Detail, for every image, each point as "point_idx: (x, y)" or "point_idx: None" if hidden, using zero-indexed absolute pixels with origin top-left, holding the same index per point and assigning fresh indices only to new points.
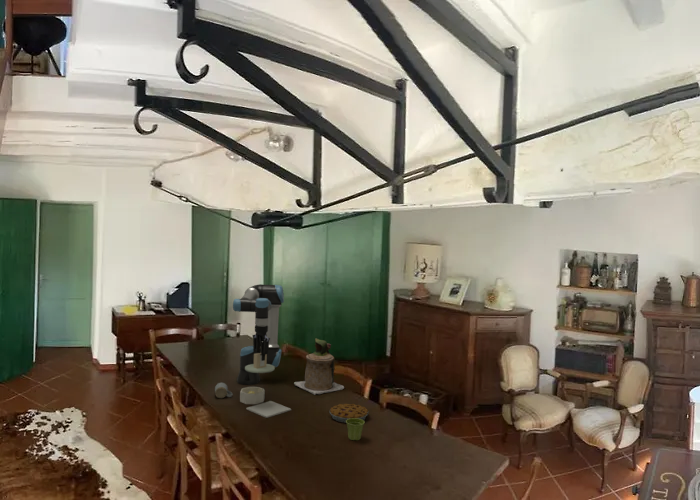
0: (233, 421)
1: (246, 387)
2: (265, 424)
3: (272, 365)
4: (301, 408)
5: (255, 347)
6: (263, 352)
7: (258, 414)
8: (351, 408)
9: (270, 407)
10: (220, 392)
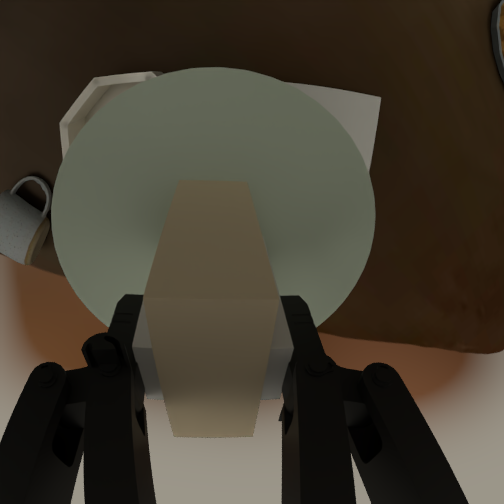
0: None
1: (62, 143)
2: (383, 263)
3: (256, 79)
4: (394, 52)
5: (70, 468)
6: (351, 436)
7: None
8: None
9: None
10: (37, 247)
